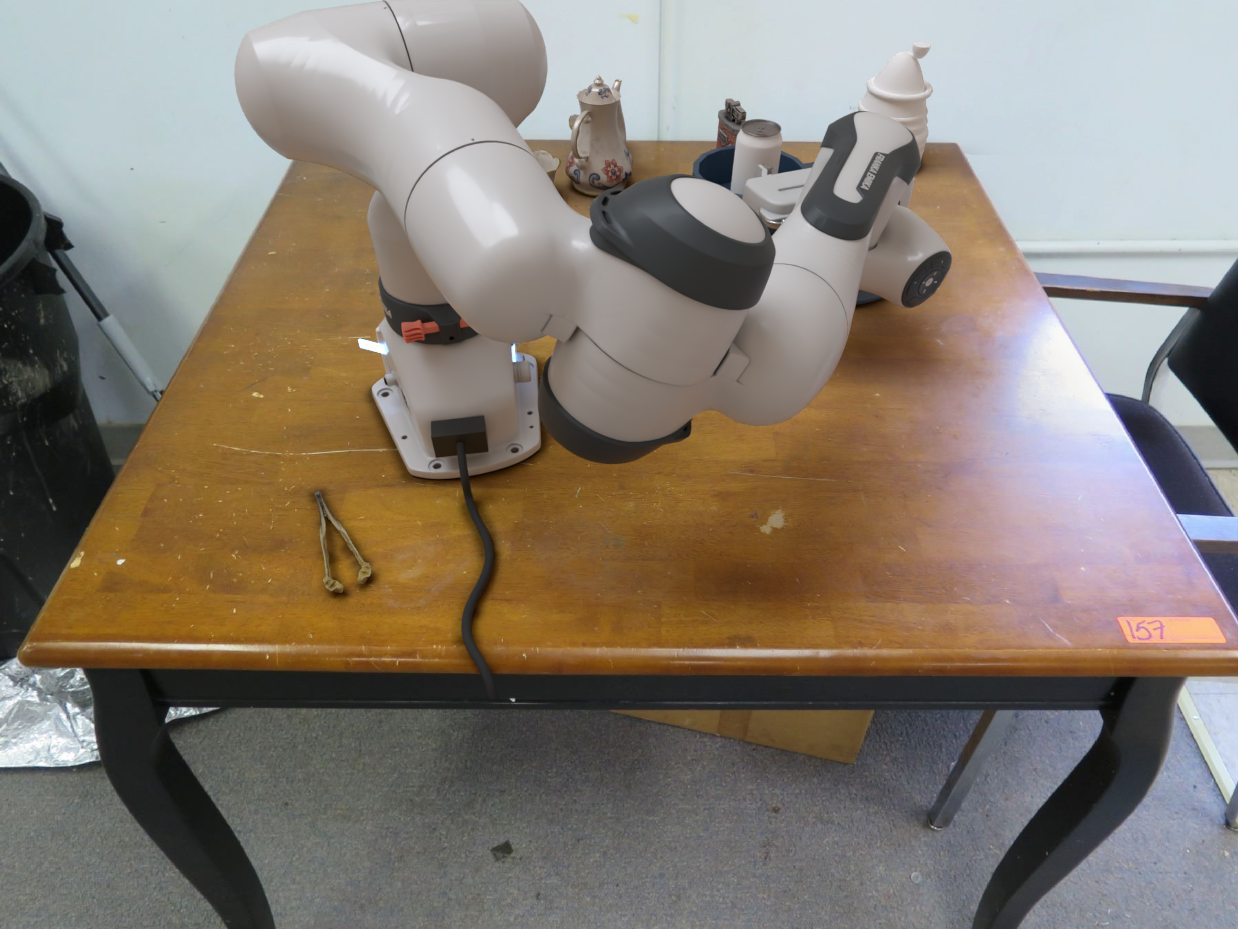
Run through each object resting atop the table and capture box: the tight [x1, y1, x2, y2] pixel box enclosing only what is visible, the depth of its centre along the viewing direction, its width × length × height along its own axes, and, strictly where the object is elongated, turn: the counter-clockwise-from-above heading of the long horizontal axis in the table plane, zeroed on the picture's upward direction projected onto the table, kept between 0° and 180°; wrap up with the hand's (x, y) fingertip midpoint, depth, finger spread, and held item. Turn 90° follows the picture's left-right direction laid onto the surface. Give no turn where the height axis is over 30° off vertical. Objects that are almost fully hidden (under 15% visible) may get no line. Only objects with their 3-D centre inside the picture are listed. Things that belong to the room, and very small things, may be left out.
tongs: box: [314, 490, 372, 594], centre depth 73 cm, size 4×13×2 cm, turn 33°
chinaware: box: [532, 74, 634, 197], centre depth 119 cm, size 28×17×17 cm, turn 154°
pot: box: [692, 145, 815, 236], centre depth 116 cm, size 17×22×6 cm
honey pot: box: [853, 41, 934, 160], centre depth 124 cm, size 13×13×18 cm
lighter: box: [715, 97, 747, 149], centre depth 125 cm, size 8×3×10 cm, turn 17°
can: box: [730, 118, 783, 195], centre depth 113 cm, size 6×6×12 cm
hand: (792, 163), depth 103 cm, fingers open, 8 cm apart
